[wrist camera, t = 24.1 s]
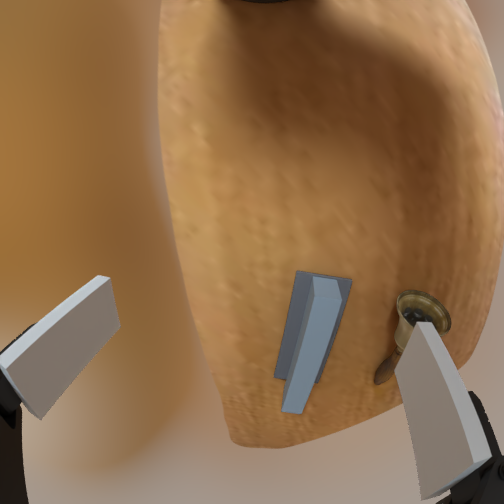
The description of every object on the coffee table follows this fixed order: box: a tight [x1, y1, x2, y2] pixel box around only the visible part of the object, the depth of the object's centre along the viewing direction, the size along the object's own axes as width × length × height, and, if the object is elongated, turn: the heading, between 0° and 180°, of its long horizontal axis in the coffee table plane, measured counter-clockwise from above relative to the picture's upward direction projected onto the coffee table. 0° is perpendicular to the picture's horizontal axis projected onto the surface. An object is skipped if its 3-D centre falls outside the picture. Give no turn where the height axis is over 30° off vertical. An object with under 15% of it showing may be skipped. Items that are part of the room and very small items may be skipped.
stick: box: [281, 276, 342, 414], centre depth 33 cm, size 20×3×5 cm, turn 173°
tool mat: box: [274, 271, 352, 383], centre depth 36 cm, size 18×7×1 cm, turn 173°
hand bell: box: [374, 290, 451, 385], centre depth 32 cm, size 8×8×16 cm
